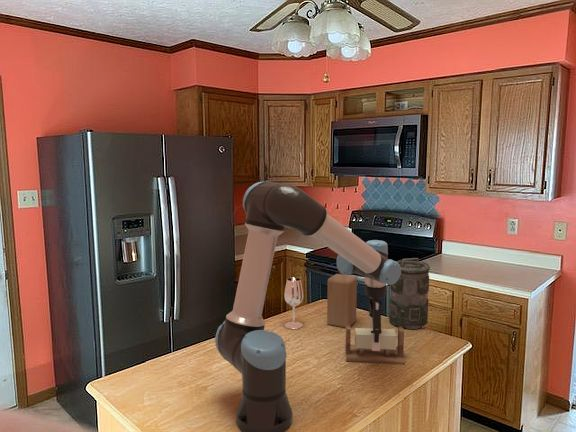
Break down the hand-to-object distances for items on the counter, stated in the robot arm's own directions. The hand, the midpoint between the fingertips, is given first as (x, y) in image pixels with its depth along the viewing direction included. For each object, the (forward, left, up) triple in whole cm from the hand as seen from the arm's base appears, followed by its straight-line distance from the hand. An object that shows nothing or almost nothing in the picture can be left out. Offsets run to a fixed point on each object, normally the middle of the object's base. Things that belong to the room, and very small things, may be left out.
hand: (374, 342), depth 161 cm
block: (+29, +11, -5) cm, 31 cm away
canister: (+32, -17, -5) cm, 37 cm away
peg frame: (0, 0, -5) cm, 5 cm away
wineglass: (+24, +31, -5) cm, 40 cm away
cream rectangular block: (0, 0, -1) cm, 1 cm away
